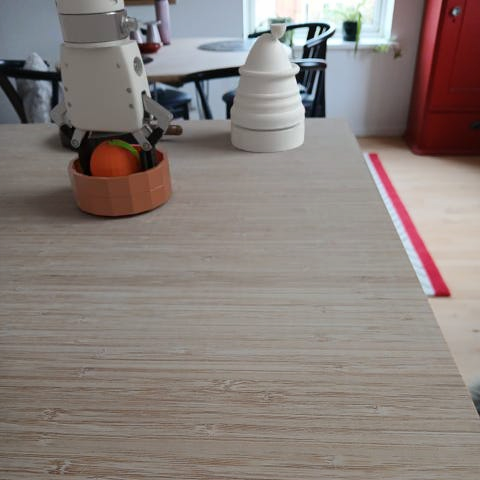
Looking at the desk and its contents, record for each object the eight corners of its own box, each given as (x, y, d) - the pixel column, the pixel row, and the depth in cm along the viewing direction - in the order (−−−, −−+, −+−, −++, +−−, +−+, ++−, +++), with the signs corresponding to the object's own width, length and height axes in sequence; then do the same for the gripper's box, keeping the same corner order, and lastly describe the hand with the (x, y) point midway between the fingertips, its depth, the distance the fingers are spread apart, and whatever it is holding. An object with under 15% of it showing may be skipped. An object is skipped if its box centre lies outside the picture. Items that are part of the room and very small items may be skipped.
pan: (45, 150, 91) (41, 134, 89) (87, 123, 103) (84, 109, 102) (168, 155, 86) (166, 139, 84) (196, 127, 99) (195, 112, 97)
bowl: (59, 215, 68) (49, 175, 65) (102, 178, 79) (95, 142, 75) (152, 222, 66) (146, 181, 62) (184, 183, 76) (180, 146, 73)
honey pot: (316, 135, 92) (322, 20, 81) (280, 157, 84) (282, 31, 73) (255, 126, 98) (254, 17, 87) (216, 145, 90) (209, 27, 79)
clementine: (161, 186, 73) (154, 135, 68) (132, 205, 68) (123, 151, 63) (116, 178, 76) (106, 129, 71) (85, 196, 71) (73, 144, 66)
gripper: (176, 24, 61) (189, 168, 71) (44, 25, 64) (76, 162, 75) (153, 34, 55) (171, 189, 66) (10, 34, 59) (49, 182, 69)
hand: (120, 174), depth 70 cm, fingers closed on clementine, 8 cm apart
